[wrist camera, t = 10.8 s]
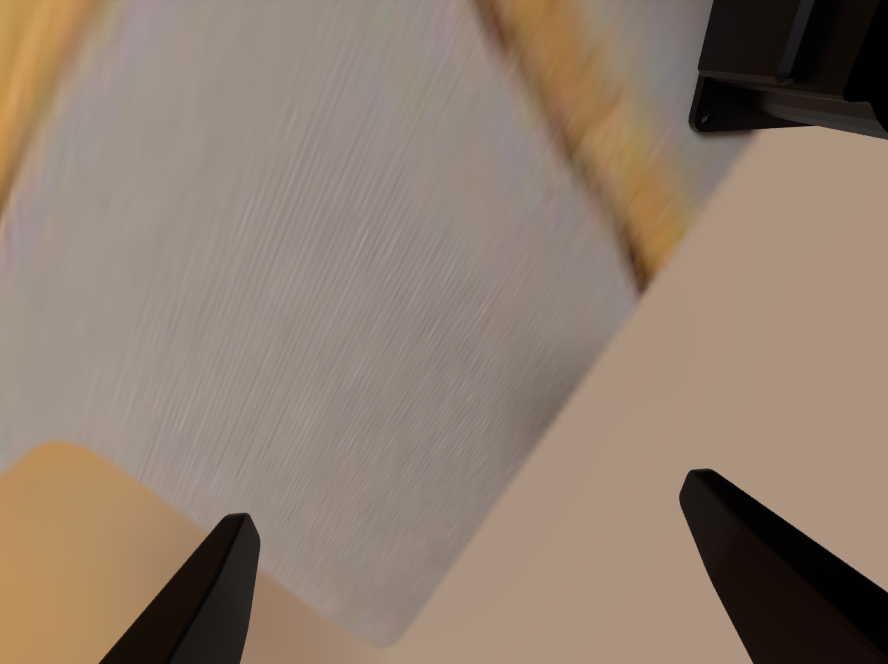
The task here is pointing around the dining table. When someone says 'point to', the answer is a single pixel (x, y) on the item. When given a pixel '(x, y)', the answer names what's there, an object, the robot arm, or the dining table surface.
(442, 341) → the dining table surface
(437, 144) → the dining table surface
